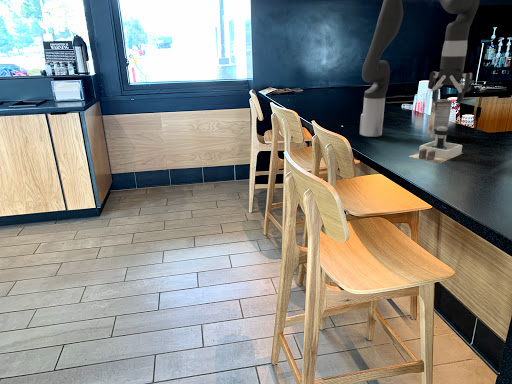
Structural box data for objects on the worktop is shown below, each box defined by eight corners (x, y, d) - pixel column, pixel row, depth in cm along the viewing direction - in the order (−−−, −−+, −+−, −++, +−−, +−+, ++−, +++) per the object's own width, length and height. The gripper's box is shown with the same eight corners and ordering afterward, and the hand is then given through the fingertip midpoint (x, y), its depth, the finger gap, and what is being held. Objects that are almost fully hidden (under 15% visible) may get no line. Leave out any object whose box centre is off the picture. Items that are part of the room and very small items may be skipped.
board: (407, 159, 143) (409, 148, 142) (431, 150, 154) (433, 140, 152) (439, 166, 134) (441, 154, 133) (462, 156, 145) (464, 145, 143)
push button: (446, 151, 147) (451, 125, 143) (452, 155, 142) (456, 128, 139) (428, 151, 148) (432, 125, 144) (433, 155, 143) (437, 128, 139)
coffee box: (427, 134, 180) (431, 99, 174) (441, 134, 179) (447, 99, 173) (431, 138, 171) (436, 102, 166) (446, 138, 170) (452, 102, 164)
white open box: (418, 153, 146) (419, 145, 145) (433, 147, 153) (434, 140, 151) (446, 159, 138) (447, 151, 137) (461, 152, 145) (462, 145, 144)
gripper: (480, 54, 130) (471, 103, 136) (438, 54, 140) (432, 99, 146) (470, 55, 126) (461, 105, 132) (428, 55, 136) (422, 101, 142)
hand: (446, 102), depth 139 cm, fingers open, 8 cm apart
